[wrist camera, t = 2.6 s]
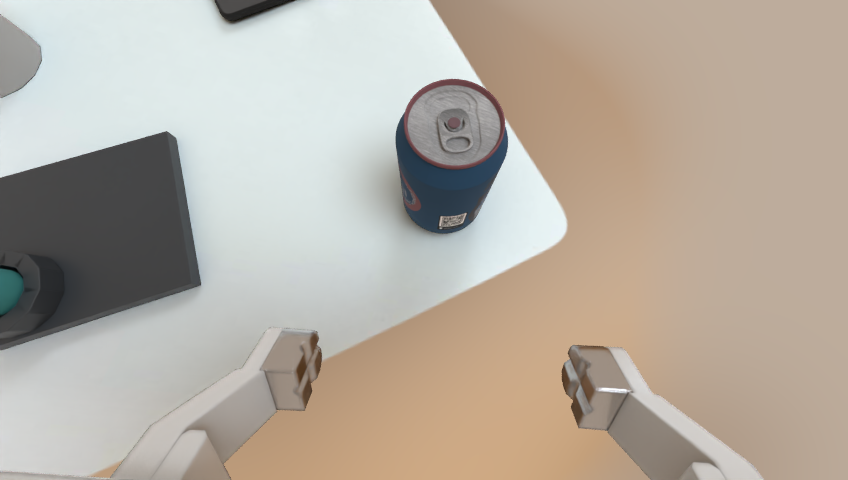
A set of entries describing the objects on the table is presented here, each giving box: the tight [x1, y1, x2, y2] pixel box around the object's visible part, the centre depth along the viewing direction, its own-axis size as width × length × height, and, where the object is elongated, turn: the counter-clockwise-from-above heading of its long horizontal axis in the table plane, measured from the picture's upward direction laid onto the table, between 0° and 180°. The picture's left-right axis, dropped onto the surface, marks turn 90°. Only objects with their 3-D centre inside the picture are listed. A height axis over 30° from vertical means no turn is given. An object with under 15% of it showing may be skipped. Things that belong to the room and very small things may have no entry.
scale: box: [0, 131, 201, 350], centre depth 27 cm, size 15×16×3 cm
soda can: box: [396, 79, 508, 233], centre depth 24 cm, size 7×7×12 cm
